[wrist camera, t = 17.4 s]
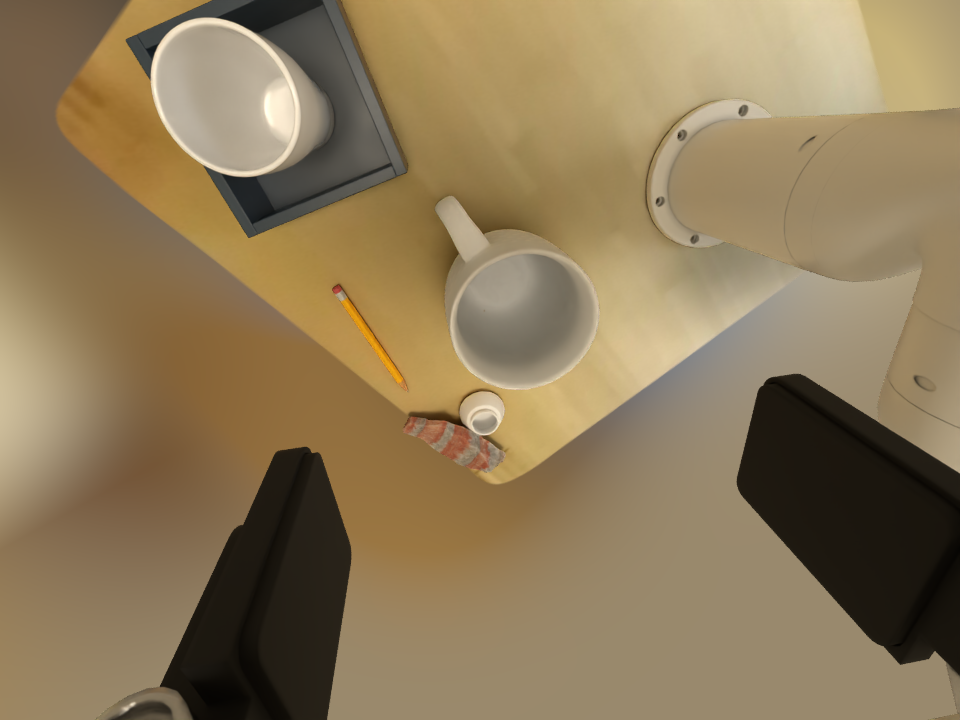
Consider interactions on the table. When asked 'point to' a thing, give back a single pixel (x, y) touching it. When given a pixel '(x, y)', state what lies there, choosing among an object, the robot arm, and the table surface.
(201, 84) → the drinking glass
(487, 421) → the lidless jar
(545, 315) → the mug
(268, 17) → the bin
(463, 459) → the stone
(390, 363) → the pencil
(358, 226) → the table surface
